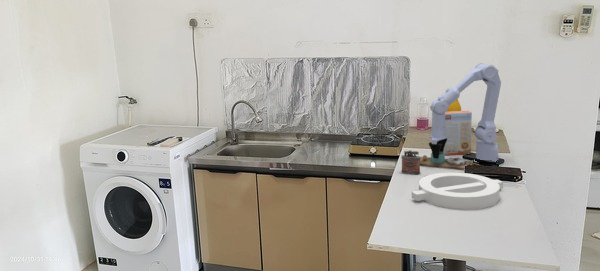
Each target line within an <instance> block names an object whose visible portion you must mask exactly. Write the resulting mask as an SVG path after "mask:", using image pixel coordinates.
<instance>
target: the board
mask: <svg viewBox="0 0 600 271" xmlns="http://www.w3.org/2000/svg"><path fill="white" fill-rule="evenodd" d="M430 159H431V156H430V157H429V156H427V155H426V154H424V155H423V156H420V167H429V168H437V169H438V168H439V169H448V170H458V171H465V170H464V169H465V166H467V165H470V166H471V164H472V161H471V160H466V159H465V158H460V157H449V158H445V159H446V160H445V163H440V164H438V163H432V162H430Z"/></svg>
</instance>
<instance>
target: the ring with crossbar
mask: <svg viewBox="0 0 600 271" xmlns="http://www.w3.org/2000/svg"><path fill="white" fill-rule="evenodd" d="M418 181H419V182H418V190H415V191H411V198H412V199H413V200H414V201H416V202H417V201H419V202H420V201H424V202H425V203H427V204H431V205H433V206H437V207H440V208H446V209H452V210H453V209H454V210H479V209H484V208H485V209H486V208H490V207H492V206H494V205H497V203H498V202H500V190H501V189H503V188H504V182H503V181H501V180H500V179H492V178H490V177H486V176H484V175H479V174H473V173H467V172H466V173H465V172H438V173H432V174H429V175H426V176H424V177H422V178H421V179H419V180H418Z"/></svg>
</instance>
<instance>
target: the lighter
mask: <svg viewBox="0 0 600 271" xmlns="http://www.w3.org/2000/svg"><path fill="white" fill-rule="evenodd" d="M403 153H404V154H402V155H401V172H400V173H401V174H404V175H406V174H407V175H421V166H420V157H421V156H420V155H419V154H420V152H419V151H417V150H413V151H412V149H410V150H404V152H403Z"/></svg>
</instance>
